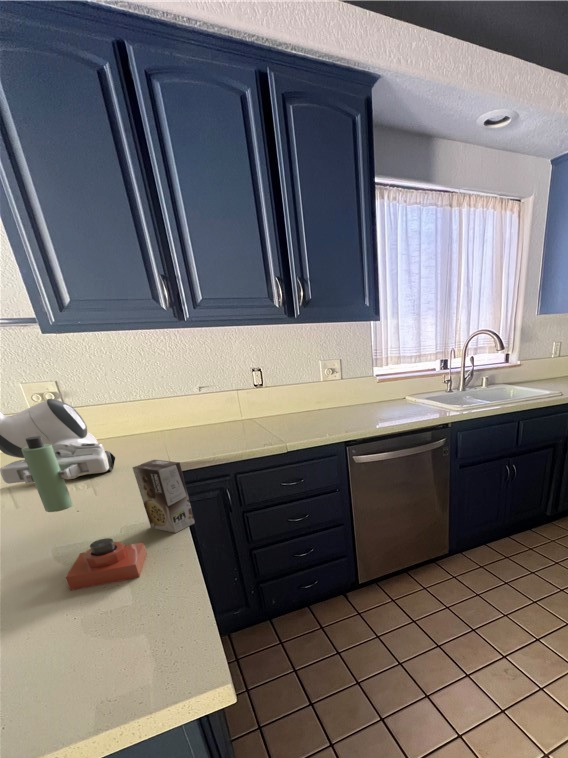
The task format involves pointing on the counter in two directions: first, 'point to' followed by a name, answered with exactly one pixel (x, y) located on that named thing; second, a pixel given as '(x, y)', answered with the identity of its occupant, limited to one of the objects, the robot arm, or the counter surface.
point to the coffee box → (164, 495)
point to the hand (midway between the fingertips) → (46, 477)
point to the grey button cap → (102, 547)
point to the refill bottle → (46, 475)
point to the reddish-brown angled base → (107, 566)
